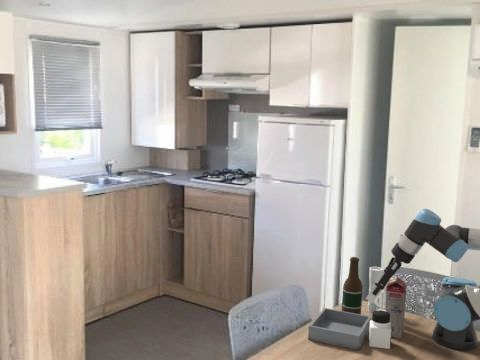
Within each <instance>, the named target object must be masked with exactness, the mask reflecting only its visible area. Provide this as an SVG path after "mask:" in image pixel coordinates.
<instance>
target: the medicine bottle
mask: <svg viewBox="0 0 480 360" xmlns="http://www.w3.org/2000/svg"><path fill="white" fill-rule="evenodd" d="M371 314H372V316H371V320H370V326H369V332H368V345H369V347H370V348H378V349H387V350H390V349H391V346H392V345H391V343H392V336H391V331H392V330H391V324H390V313H389V312H387V311H385V310H382V309H379V310H374V311H373V313H371Z"/></svg>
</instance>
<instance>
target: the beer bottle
mask: <svg viewBox="0 0 480 360" xmlns="http://www.w3.org/2000/svg"><path fill="white" fill-rule="evenodd" d="M359 261H360V258H359V257H356V256H351V257H350V259H349V262H350V263H349V270H348V275H347V278H346V279H345V281H344V283H343V286H342V297H341V298H342V299H341V300H342V302H341V311H344V312H350V313H355V314H360V315H362V304H363V290H364V289H363V283H362V280H361V279H360V276H359Z"/></svg>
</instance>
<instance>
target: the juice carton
mask: <svg viewBox="0 0 480 360" xmlns="http://www.w3.org/2000/svg"><path fill="white" fill-rule="evenodd" d="M396 277H397V278H395V279H392V280H390V281H388V284H387V290H386V304H385V311H387V312H389V313H390V324H391V330H392V331H391V338H398V339H399V338H400V339H403V336H404V335H403V334H404V327H405V311H406V298H407V285H408V283H407V282H406V281H405V280H402V279H401V278H399V273H397V275H396Z"/></svg>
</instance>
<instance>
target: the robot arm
mask: <svg viewBox="0 0 480 360" xmlns="http://www.w3.org/2000/svg"><path fill="white" fill-rule="evenodd" d="M441 223H442V218H441V217H440V216H439V215H438V214H437V213H435V212H434V211H432V210H431V209H428V208H422V209H421V210H420V211H419V212H418V213H417V215H416V216H415V217H414V218H413V219H412V221H411V222H410V224H409V225H408V227H407V228H406V230H404V232H403V233H401V234H399V237H400V238H399V239H398V241H397V242H396V243H395V245H394V246H393V247H392V248H391V254H392V255H393V256H392V257H391V258H390V260H389V262H388V264H387V266H386V267H385V269H383V273H382V274H381V275H380V277H379V278H378V279H377V281H376V282H375V283H374V285H373V286H374V288H373V289H372V290H371V292H370V293H369V292H368V295H367V296H366V297H365V300H367V301H370V302H371V303H373V302H374V300H375V299H376V298H377V296H378V295H379V294H380V292H381V291H382V290H383V291H384V287H385V286H386V284H387V283H388V281H389V280H390V279H391V277H392V276H395V274H396V273H397V272H398V270H400V268H401V267H402V265H403V263H404V264H411V262H412V261H413V260H414V258H415V256H416V255H418V253H419V252H420V251H421V250H422V249H423V247H424V245H425V244H428V245H429V246H430V247H432V248H433V249H435V250H436V251H437V252H438V253H440V254H441V255H443V256H444V257H445V258H446V259H448V260H451V261H452V262H453V263H458V262H459V261H460V260H461V259H462V258H463V256H464V255H465V254H466V253H467V251H469V250H472V251H480V228H471V227H470V228H469V227H462V226H460V225H459V224H451V225H449V226H446V227H443V226H442V225H441ZM441 281H442V282H441V284H440V285H441V291H440V294H439V296H438V297H437V299H436V300H435V302H434V304H433V314H434V315H433V316H434V318H435V320H436V324H435V325H434V328H433V330H432V339H433V341H434V342H436V343H437V344H439V345H442V346H444V347H447V348H451V349H455V350H472V349H475V348H477V346H478V335H477V332H476V327H475V322H477V321H479V320H480V284H478V285H477V283H476V282H475V281H473V280H470V279H466V278H463V277H453V276H445V277H443V279H442V280H441Z"/></svg>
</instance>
